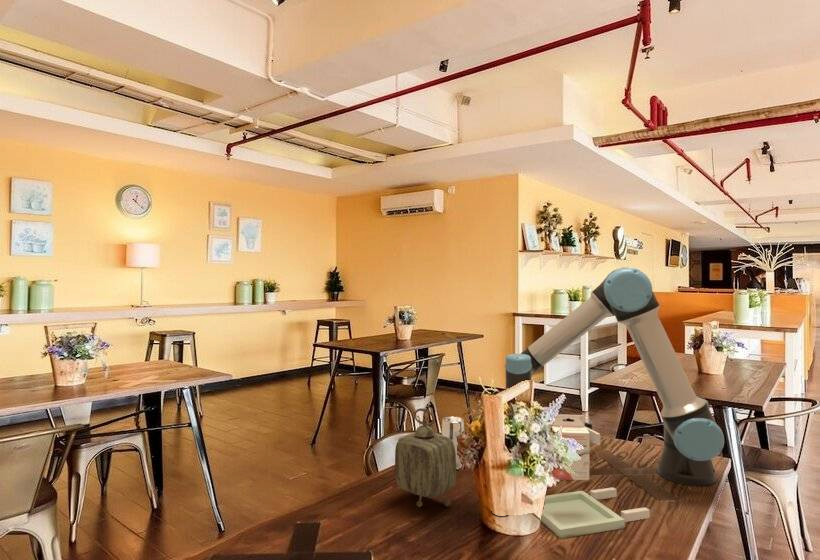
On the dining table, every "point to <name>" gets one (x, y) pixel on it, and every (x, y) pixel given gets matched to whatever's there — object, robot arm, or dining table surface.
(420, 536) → the dining table surface
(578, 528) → the sage tray
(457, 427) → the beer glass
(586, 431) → the ink cartridge box
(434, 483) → the tabletop clock
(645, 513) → the cartridge bay
